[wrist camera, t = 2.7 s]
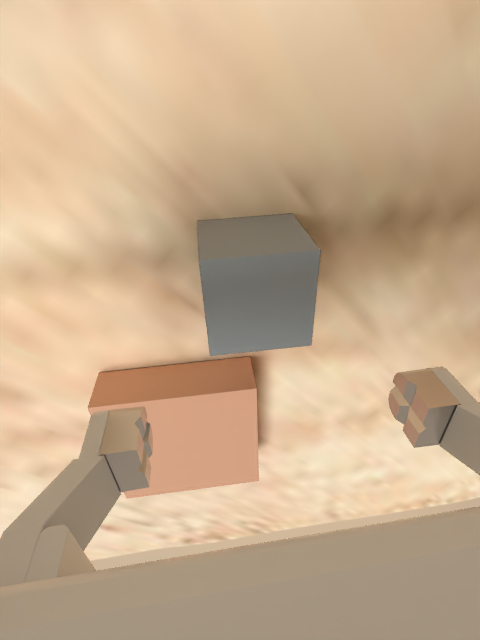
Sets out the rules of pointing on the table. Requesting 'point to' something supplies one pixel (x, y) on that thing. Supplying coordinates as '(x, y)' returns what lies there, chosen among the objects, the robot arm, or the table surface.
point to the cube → (257, 283)
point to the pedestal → (191, 421)
